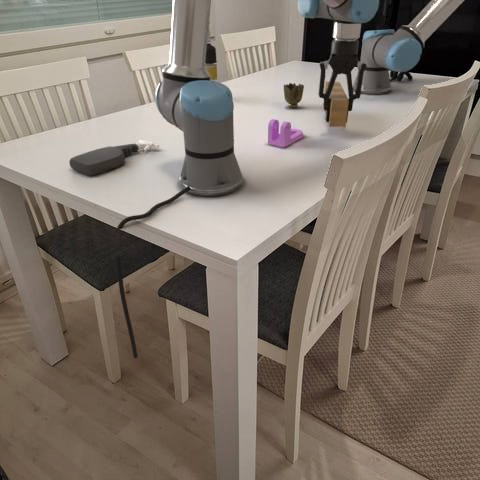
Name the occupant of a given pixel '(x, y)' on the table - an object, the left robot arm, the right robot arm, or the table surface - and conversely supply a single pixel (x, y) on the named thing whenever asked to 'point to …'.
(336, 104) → the bar
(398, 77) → the squiggle
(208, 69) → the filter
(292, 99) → the cup
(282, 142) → the bracket
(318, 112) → the table surface
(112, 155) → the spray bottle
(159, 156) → the table surface
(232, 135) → the left robot arm
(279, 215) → the table surface
